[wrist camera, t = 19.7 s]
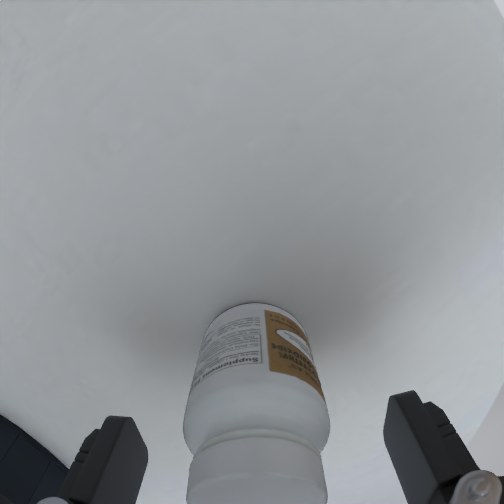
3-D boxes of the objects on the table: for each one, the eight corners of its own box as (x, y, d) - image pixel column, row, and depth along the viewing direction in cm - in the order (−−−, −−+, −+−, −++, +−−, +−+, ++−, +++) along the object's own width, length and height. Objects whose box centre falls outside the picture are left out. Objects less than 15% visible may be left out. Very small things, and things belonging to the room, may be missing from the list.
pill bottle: (321, 365, 14) (363, 514, 6) (232, 397, 14) (221, 544, 7) (283, 282, 13) (318, 437, 5) (184, 323, 13) (129, 477, 6)
